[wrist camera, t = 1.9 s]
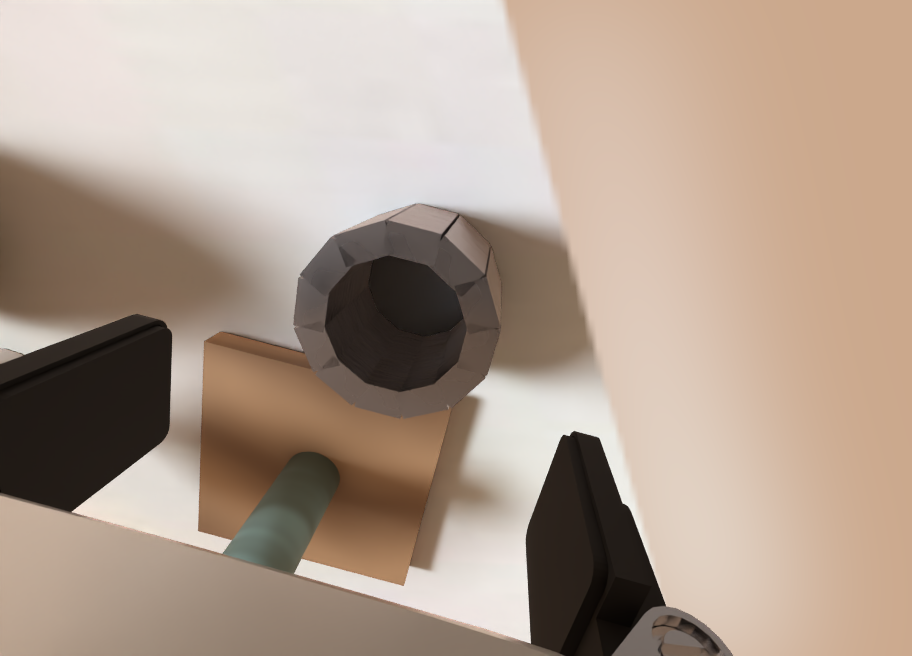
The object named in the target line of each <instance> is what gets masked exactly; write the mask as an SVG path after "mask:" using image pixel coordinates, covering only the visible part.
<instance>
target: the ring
mask: <svg viewBox="0 0 912 656" xmlns="http://www.w3.org/2000/svg"><path fill="white" fill-rule="evenodd" d="M457 218H458V213H454V212H450V211H446V210H442V209H438V208H434V207H431V206H427V205H423V204H417V205H416V204H413V205H409V206H406V207H403V208H400V209H396V210H393V211H390V212H387V213H383V214H380V215H377V216H375V217H373V218H371V219H368V220H366V221H364V222H362V223H360V224H357V225H355V226H353V227H351V228H349V229H346V230H344V231H342V232H340V233H338V234H336V235H334V236H332V237H331V238H330V239H329V240H328V241H327V243H326V244H325V245H324V246H323V247H322V249H321V250H320V251H319V252H318V253H317V255H316V256H315V257H314V258H313V259H312V261H311V262H310V263H309V264H308V266H307V267H306V268H305V269H304V270H303V272H302V273H301V274H300V275H301V277H299V278H298V287H297V296H296V305H295V314H294V323H293V325H295V326H296V327H295V328H294V330H295V332H296V334H297V337H298V339H299V341H300V343H301V346H302V348H303V350H304V353H305V355H306V357H307V360H308V362H309V364H310V366H311V369H312V371H313V372H315V371H318V372H317V373H316V374H315V375H316V376H317V377H318V378H320V379H321V380H322V381H323V382H324V383H325V384H327V385H328V386H329V387H330V388H331V389H333V390H334V391H335V392H336V393H337V394H339V395H340V396H341V397H342V398H343V399H345V400H346V401H347V402H348V403H349V404H351V405H353V404H354V403H355V407H357V408H361V409H364V410H368V411H372V412H376V413H380V414H383V415H387V416H391V417H395V418H399V419H400V418H401V416H402V417H403V419H406V418H411V417H415V416H420V415H425V414H430V413H435V412H439V411H444V410H448V409H449V407H450V408H452V407H453V406H454V405H455V404H457V403H458V402H459V401H460V400H461V399H462V398H463V397H465V396H466V395H467V394H468V393H469V392H470V391H471V390H473V389H474V388H475V387H476V386H477V385H478V384H479V383H480V382H482V381H483V380H484V379H485V376H486V375H487V374H488V371H489V367H490V364H491V361H492V357H493V354H494V350H495V347H496V344H497V340H498V337H499V333H500V328H501V295H502V283H501V280H500V276H499V272H498V268H497V265H496V261H495V257H494V254H493V250H492V246H491V247H490V243H489V242H488V241H487V240H486V239H485V238H484V237H483V236H482V235H481V234H480V233H479V232H478V231H477V230H476V229H475V228H474V227H473V226H471V225H470V224H469V223H468V222H467V221H466V220H465V219H464V218H463V217H462V216H460V217H459V218H458V219H457ZM388 255H389V256H393V257H397V258H401V259H405V260H409V261H412V262H416V263H420V264H424V265H427V266H429V267H430V268H431V269H432V270H433V271H434V272H435V273H436V274H437V275H438V276H439V277H440V278H441V279H442V280H443V281H444V282H445V283H447V284H448V285H449V286H450V287H451V288H452V289H453V290H454V291H455V292H456V294H457V297H458V300H459V303H460V307H461V310H462V313H463V317H464V318H463V319H462V320H461V321H460V322H459V323H458V324H457V325H456V326H454V327H453V328H452V329H451V330H449V331H445V332H441V333H437V334H433V335H429V336H421V335H417V334H413V333H409V332H406V331H402V330H398V329H397V328H396V327H395V326H394V325H393V324H392V323H390V322H389V321H388V320H387V319H386V318H385V317H384V316H383V315H382V314H380V313H379V312H378V310H377V307H376V305H375V302H374V299H373V296H372V294H371V291H370V288H369V286H368V285H369V280H370V274H371V268H372V262H373V260H374V259H378V258H381V257H385V256H388Z"/></svg>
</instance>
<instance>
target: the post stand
mask: <svg viewBox="0 0 912 656" xmlns="http://www.w3.org/2000/svg"><path fill="white" fill-rule="evenodd" d="M317 372H318V371H315V372H313V371H312V369H311V366H310V364H309V362H308V360H307V357H306V355H305V353H301V352H297V351H293V350H290V349H286V348H282V347H278V346H274V345H270V344H267V343H263V342H259V341H255V340H251V339H247V338H244V337H240V336H236V335H232V334H228V333H225V332H221V331H220V332H219V333H217V334H216V335H214V336H212V337H211V338H209V339H207V340H206V341H204V362H203V394H202V426H201V458H200V490H199V521H198V531H200V532H204V533H207V534H211V535H215V536H219V537H222V538H226V539H230V540H232V541H231V543H230V544H229V545H228V547H227V548H226V550H225V551H224V552H223V554H224V555H228V556H232V557H235V558H239V559H242V560H246V561H249V562H253V563H257V564H260V565H264V566H267V567H271V568H274V569H278V570H282V571H285V572H289V573H292V574H294V572H295V570H296V568H297V566H298V564H299V562H300V560H301V559H305V560H309V561H312V562H316V563H320V564H324V565H327V566H331V567H335V568H339V569H342V570H346V571H350V572H354V573H357V574H361V575H365V576H369V577H372V578H376V579H380V580H384V581H387V582H391V583H395V584H399V585H402V586H404V583H405V579H406V576H407V572H408V568H409V565H410V561H411V557H412V554H413V550H414V546H415V543H416V539H417V535H418V531H419V528H420V524H421V520H422V517H423V513H424V509H425V506H426V502H427V498H428V495H429V491H430V487H431V484H432V480H433V476H434V472H435V469H436V465H437V461H438V458H439V454H440V450H441V447H442V443H443V439H444V436H445V432H446V428H447V424H448V421H449V417H450V413H451V410H452V408H450V407H449V409H448V410H444V411H439V412H435V413H430V414H425V415H420V416H415V417H411V418H406V419H403V417H402V416H401V418H400V419H399V418H395V417H391V416H387V415H383V414H380V413H376V412H372V411H368V410H364V409H361V408H357V407H355V403H354V404H353V405H351V404H349V403H348V402H347V401H346V400H345V399H343V398H342V397H341V396H340V395H339V394H337V393H336V392H335V391H334V390H333V389H331V388H330V387H329V386H328V385H327V384H325V383H324V382H323V381H322V380H321V379H320V378H318V377H317V376H316V375H315V374H316V373H317Z"/></svg>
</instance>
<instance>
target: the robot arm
mask: <svg viewBox="0 0 912 656" xmlns="http://www.w3.org/2000/svg"><path fill="white" fill-rule="evenodd" d="M171 358H172V333H171V331H170V330H169V329H167V326H166V324H165V323H164V322H163V321H161V320H157V319H154V318H150V317H146V316H143V315H139V314H135V315H131V316H128V317H126V318H123V319H120V320H118V321H115V322H112V323H110V324H107V325H104V326H102V327H99V328H96V329H93V330H91V331H88V332H85V333H83V334H80V335H77V336H75V337H72V338H69V339H66V340H64V341H61V342H58V343H56V344H53V345H50V346H48V347H45V348H42V349H39V350H37V351H34V352H31V353H29V354H26V355H23V356H21V357H18V358H15V359H12V360H10V361H7V362H4V363H2V364H0V656H733V655H732V653H731V652H730V650H729V649H728V648H727V647H726V645H725V644H724V643H723V641H722V640H721V639H720V638H719V637H718V636H717V635H716V634H715V633H714V632H713V631H712V630H710V628H708V627H707V626H706V625H705V624H704V623H702V622H700V621H699V620H698V619H696V618H695V617H693V616H692V615H690V614H688V613H685V612H683V611H681V610H679V609H676V608H671V607H666V604H665V602H664V599H663V596H662V594H661V591H660V588H659V586H658V583H657V580H656V578H655V575H654V572H653V570H652V567H651V564H650V561H649V559H648V556H647V553H646V551H645V548H644V545H643V543H642V540H641V537H640V535H639V532H638V529H637V527H636V524H635V521H634V518H633V516H632V513H631V511H630V509H629V507H628V506H626V505H625V504H622V501H621V498H620V495H619V492H618V489H617V487H616V484H615V481H614V478H613V475H612V473H611V470H610V467H609V464H608V461H607V459H606V456H605V453H604V450H603V447H602V444H601V442H600V439H599V438H598V437H594V436H591V435H587V434H583V433H579V432H576V431H573V432H572V433H571V435H570V436H566V435H563V436H562V437H561V439H560V442H559V444H558V447H557V450H556V453H555V455H554V458H553V461H552V463H551V466H550V469H549V471H548V474H547V477H546V479H545V482H544V485H543V487H542V490H541V493H540V496H539V498H538V501H537V504H536V506H535V509H534V512H533V514H532V517H531V520H530V522H529V525H528V529H527V534H526V557H527V576H528V595H529V613H530V632H531V644H530V643H527V642H524V641H521V640H518V639H514V638H511V637H508V636H505V635H502V634H499V633H496V632H493V631H490V630H487V629H484V628H481V627H477V626H473V625H470V624H466V623H463V622H459V621H456V620H452V619H449V618H446V617H442V616H439V615H435V614H432V613H429V612H425V611H422V610H418V609H415V608H411V607H408V606H404V605H401V604H397V603H394V602H390V601H387V600H383V599H380V598H376V597H373V596H369V595H366V594H362V593H359V592H355V591H352V590H348V589H345V588H341V587H338V586H334V585H331V584H327V583H324V582H320V581H317V580H313V579H310V578H306V577H303V576H299V575H296V574H292V573H289V572H285V571H282V570H278V569H274V568H271V567H267V566H264V565H260V564H257V563H253V562H249V561H246V560H242V559H239V558H235V557H232V556H228V555H224V554H221V553H217V552H214V551H210V550H207V549H203V548H199V547H196V546H192V545H189V544H185V543H181V542H178V541H174V540H171V539H167V538H163V537H160V536H156V535H153V534H149V533H145V532H142V531H138V530H135V529H131V528H127V527H124V526H120V525H116V524H113V523H109V522H105V521H102V520H98V519H94V518H91V517H87V516H83V515H80V514H76V513H72V511H73V510H74V509H76V508H77V507H78V506H79V505H81V504H82V503H83V502H85V501H86V500H87V499H88V498H90V497H91V496H92V495H94V494H95V493H96V492H98V491H99V490H100V489H101V488H103V487H104V486H105V485H107V484H108V483H109V482H111V481H112V480H113V479H114V478H116V477H117V476H118V475H120V474H121V473H122V472H124V471H125V470H126V469H127V468H129V467H130V466H131V465H133V464H134V463H135V462H136V461H138V460H139V459H140V458H142V457H143V456H144V455H146V454H147V453H148V452H149V451H151V450H152V449H153V448H155V447H156V446H157V445H159V444H160V443H161V442H162V441H163V440H164V439H165V437H166V435H167V434H168V431H169V425H170V391H171Z"/></svg>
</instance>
